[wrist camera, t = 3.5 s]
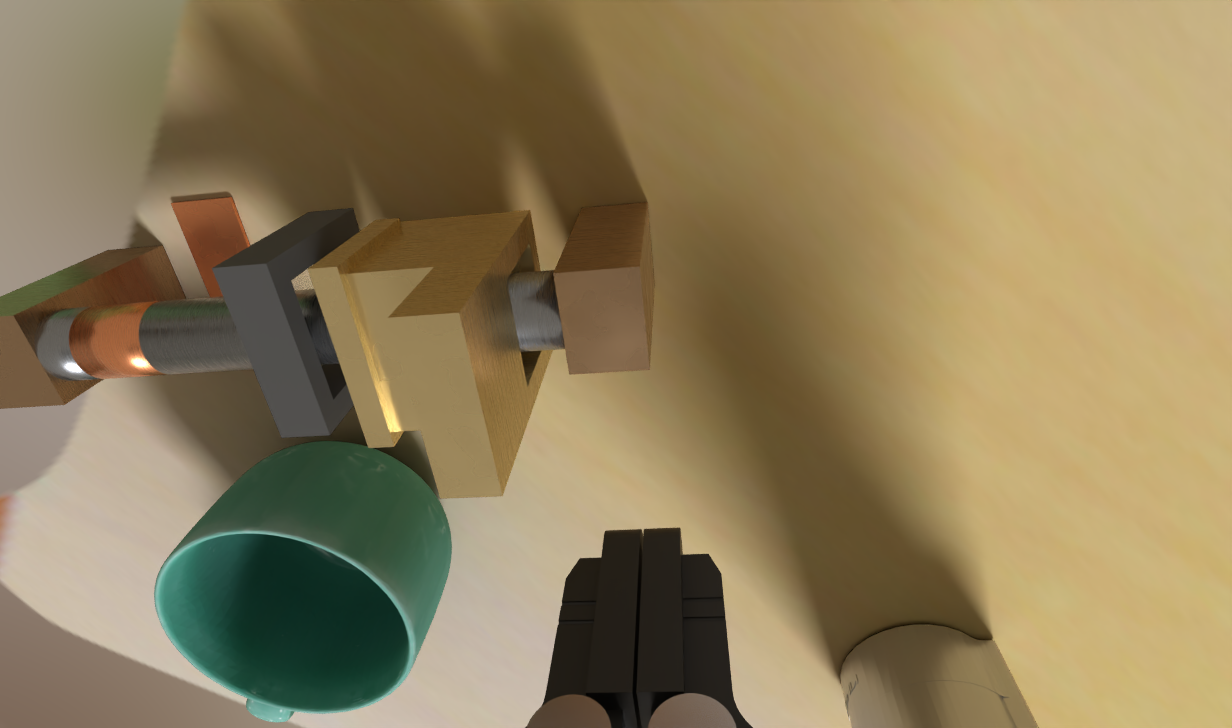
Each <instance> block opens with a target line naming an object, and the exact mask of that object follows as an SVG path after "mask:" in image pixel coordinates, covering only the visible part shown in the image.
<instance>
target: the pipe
mask: <svg viewBox="0 0 1232 728" xmlns="http://www.w3.org/2000/svg"><path fill="white" fill-rule="evenodd" d="M171 205H172V207H173V210H174V212H175V215H176V217H177V219H178V222H179V224H180V226H181V229H182V231H183V234H184V236H185V238H186V241H187V243H188V245H189V248H190V250H191V253H192V255H193V257H194V260H195V262H196V264H197V267H198V269H199V272H200V274H201V276H202V279H203V281H204V284H205V286H206V288H207V291H208V293H209V295H210V297H206V298H193V299H186V297H185V295H184V293H183V291H182V288H181V286H180V284H179V282H178V279H177V277H176V275H175V272H174V270H173V268H172V266H171V263H170V261H169V259H168V256H167V254H166V252H165V250H164V247H163V245H161V246H149V247H138V248H127V249H116V250H107V251H105V252H103V253H100V254H98V255H96V256H93V257H91V258H89V259H86V260H84V261H82V262H79V263H77V264H75V265H72V266H70V267H68V268H65V269H63V270H61V271H58V272H56V273H54V274H52V275H49V276H47V277H45V278H42V279H40V280H38V281H35V282H33V283H31V284H28V285H26V286H24V287H22V288H20V289H17V290H15V291H12V292H10V293H8V294H5V295H3V296H1V297H0V409H1V408H2V409H3V408H20V407H35V406H53V405H65V404H67V403H68V402H70V401H71V400H73V399H74V398H76V397H77V396H79V395H80V394H82V393H83V392H85V391H86V390H88V389H89V388H91V387H93V386H94V385H96V384H97V383H99V382H100V381H102V380H103V379H108V378H123V377H139V376H154V375H170V374H185V373H201V372H216V371H231V370H247V369H253V367H252V365H251V362H250V360H249V358H248V355H247V353H246V350H245V348H244V345H243V343H242V341H241V338H240V336H239V333H238V331H237V328H236V326H235V324H234V321H233V319H232V316H231V314H230V312H229V309H228V307H227V304H226V302H225V299H224V297H223V295H222V292H221V290H220V287H219V285H218V282H217V280H216V278H215V275H214V273H213V270H212V268H213V267H215V266H216V265H218V264H220V263H221V262H223V261H225V260H227V259H228V258H230V257H232V256H234V255H235V254H237V253H239V252H241V251H242V250H244V249H246V248H248V247H249V246H250V244H249V241H248V238H247V236H246V233H245V230H244V228H243V225H242V222H241V220H240V217H239V214H238V212H237V209H236V207H235V204H234V201H233V199H232V197H224V198H214V199H204V200H193V201H183V202H173V203H171ZM507 285H508V290H509V295H510V300H511V305H512V310H513V315H514V320H515V326H516V331H517V336H518V341H519V346H520V351H521V352H525V351H541V350H556V349H565V350H566V356H567V363H568V369H569V374H585V373H602V372H618V371H635V370H650V355H651V338H652V321H653V304H654V288H655V283H654V271H653V260H652V248H651V237H650V225H649V213H648V202H643V203H632V204H621V205H610V206H598V207H587V208H582V209H581V212H580V214H579V216H578V218H577V221H576V223H575V225H574V227H573V230H572V232H571V234H570V236H569V239H568V241H567V243H566V246H565V248H564V250H563V252H562V255H561V257H560V259H559V261H558V264H557V266H556V268H555V270H550V271H537V272H524V273H511V274H510V275H509V277H508V279H507ZM295 293H296V296H297V299H298V302H299V305H300V307H301V310H302V313H303V316H304V319H305V321H306V324H307V327H308V330H309V333H310V335H311V338H312V341H313V344H314V347H315V349H316V352H317V355H318V358H319V361H320V363H321V365H324V364H340V363H339V360H338V357H337V354H336V351H335V348H334V345H333V342H332V339H331V336H330V333H329V331H328V328H327V325H326V322H325V319H324V316H323V313H322V310H321V307H320V304H319V301H318V298H317V295H316V292H315V289H308V290H295Z"/></svg>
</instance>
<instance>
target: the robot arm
mask: <svg viewBox="0 0 1232 728" xmlns="http://www.w3.org/2000/svg"><path fill="white" fill-rule="evenodd" d="M840 678H841V686H842V690H843V694H844V698H845V704H846V709H847V713H848V716H849V719H850V722H851V726H852V728H1039V727H1038V725H1037V723H1036V721H1035V719H1034V717H1033V715H1032V713H1031V711H1030V709H1029V707H1028V705H1027V703H1026V701H1025V700H1024V698H1023V696H1022V694H1021V692H1020V690H1019V688H1018V686H1017V684H1016V682H1015V680H1014V678H1013V676H1012V674H1011V672H1010V670H1009V668H1008V666H1007V664H1006V662H1005V660H1004V658H1003V656H1002V654H1001V652H1000V650H999V649H998V647H997V645H996V643H995V641H993V640H976V639H974V638H972V637H970V636H968V635H966V634H964V633H962V632H961V631H958V630H955V629H951V628H948V627H944V626H937V625H908V626H901V627H896V628H892V629H889V630H886V631H882V632H880V633H878V634H876V635H874V636H871V637H869V638H867V639H866V640H865V641H863V642H862V643H860V644H859V645H857V646H856V647H855V648H854V649H853V650H852V651H851V652H850V654H849V655H848V656H847V658H846V659H845V661H844V663H843V665H842V669H841V673H840ZM526 728H753V727H752V726H751V725H750V724H749V723H748V722H747V721H746V720H745V719H744V718H743V716H742V715H741V714H740V712H739V710H738V708H737V706H736V704H735V701H734V697H733V692H732V682H731V671H730V661H729V650H728V640H727V629H726V620H725V608H724V598H723V587H722V577H721V573H720V571H719V570H718V568H717V566H716V565H715V563H714V562H713V560H712V559H711V557H710V556H709V554H690V555H683V552H682V540H681V530H680V528H657V529H644V534H643V533H642V529H636V530H610V531H605V534H604V541H603V549H602V558H580V559H579V560H578V562H577V563H576V565H575V566H574V568H573V569H572V571H571V572H570V574H569V575H568V576H567V578H566V581H565V587H564V593H563V599H562V606H561V610H560V616H559V625H558V627H557V633H556V638H555V644H554V650H553V656H552V661H551V667H550V673H549V678H548V684H547V690H546V695H545V699H544V702H543V704H542V706H541V707H540V708H539V709H538V710H537V711H536V712H535V714H534V715H533V716H532V718H531V719H530V721H529V723H528V725H527V727H526Z"/></svg>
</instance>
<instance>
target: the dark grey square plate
mask: <svg viewBox="0 0 1232 728" xmlns="http://www.w3.org/2000/svg"><path fill="white" fill-rule="evenodd" d="M358 232H360V231H359V227H358V224H357V221H356V217H355V214H354V210H353V208H348V209H337V210H326V211H315V212H308V213H307V214H305V215H303V216H301V217H300V218H298V219H296V220H294V221H293V222H291V223H289V224H288V225H286V226H284V227H282V228H281V229H279V230H277V231H275V232H274V233H272V234H270V235H268V236H267V237H265V238H263V239H261V240H260V241H258V242H256V243H255V244H253V245H251V246H249V247H248V248H246V249H244V250H242V251H241V252H239V253H237V254H235V255H234V256H232V257H230V258H228V259H227V260H225V261H223V262H221V263H220V264H218V265H216V266H215V267H213V268H212V270H213V273H214V275H215V278H216V280H217V282H218V285H219V287H220V290H221V292H222V295H223V297H224V299H225V302H226V304H227V307H228V309H229V312H230V314H231V316H232V319H233V321H234V324H235V326H236V328H237V331H238V333H239V336H240V338H241V341H242V343H243V345H244V348H245V350H246V353H247V355H248V358H249V360H250V362H251V365H252V367H253V370H254V372H255V375H256V377H257V379H258V382H259V384H260V387H261V389H262V392H263V394H264V396H265V399H266V401H267V404H268V406H269V409H270V411H271V413H272V416H273V418H274V421H275V423H276V426H277V428H278V430H279V433H280V435H281V438H287V437H306V436H325V435H330V434H331V433H332V432H333V431H334V429H335V428H336V427H337V426H338V424H339V423H340V422H341V421H342V419H343V418H344V417H345V415H346V414H347V413H348V412H349V410H350V409H351V408H352V407H353V405H354V404H353V401H352V398H351V395H350V392H349V389H348V386H347V383H346V381H345V378H344V375H343V372H342V369H341V366H340V364H324V365H322V366H321V363H320V361H319V358H318V355H317V352H316V349H315V347H314V344H313V341H312V338H311V335H310V333H309V330H308V327H307V324H306V321H305V319H304V316H303V313H302V310H301V307H300V305H299V302H298V299H297V296H296V293H295V291H294V288H293V285H292V282H291V280H292V279H294V278H295V277H296V276H298V275H299V274H301V273H302V272H303V271H305V270H306V269H307V268H309V267H310V266H312V265H314V264H315V263H317V262H318V261H320V260H321V259H322V258H324V257H325V256H326V255H328V254H329V253H331V252H332V251H333V250H335V249H336V248H338V247H339V246H340V245H342V244H343V243H344V242H346V241H347V240H349V239H350V238H351V237H353V236H354V235H356V234H357V233H358Z"/></svg>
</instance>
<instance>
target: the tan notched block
mask: <svg viewBox="0 0 1232 728" xmlns="http://www.w3.org/2000/svg"><path fill="white" fill-rule="evenodd" d="M537 271H540V265H539V259H538V253H537V247H536V241H535V235H534V229H533V224H532V218H531V212H530V210H524V211H513V212H502V213H491V214H480V215H468V216H457V217H446V218H435V219H424V220H413V221H400V218H393V219H382V220H375V221H373V222H372V223H371V224H369V225H368V226H367V227H365V228H364V229H362V230H361V231H360V232H358V233H357V234H356V235H354V236H353V237H351V238H350V239H349V240H347V241H346V242H344V243H343V244H342V245H340V246H339V247H338V248H336V249H335V250H333V251H332V252H331V253H329V254H328V255H326V256H325V257H324V258H322V259H321V260H320V261H318V262H317V263H315V264H314V265H313V266H311V267H310V268H308V272H309V275H310V278H311V281H312V284H313V286H314V289H315V292H316V295H317V298H318V301H319V304H320V307H321V310H322V313H323V316H324V319H325V322H326V325H327V328H328V331H329V333H330V336H331V339H332V342H333V345H334V348H335V351H336V354H337V357H338V360H339V363H340V366H341V369H342V372H343V375H344V378H345V381H346V383H347V386H348V389H349V392H350V395H351V398H352V401H353V404H354V407H355V410H356V413H357V416H358V419H359V422H360V425H361V428H362V430H363V433H364V436H365V439H366V442H367V445H368V448H379V447H394V446H395V445H396V443H397V442H398V440H399V438H400V437H401V435H402V434H403V432H404V431H417V430H420V431H421V434H422V438H423V441H424V444H425V448H426V451H427V455H428V458H429V462H430V465H431V468H432V472H433V475H434V479H435V482H436V486H437V489H438V492H439V496H440V499H442V498H467V497H493V496H503V493H504V490H505V487H506V484H507V481H508V478H509V476H510V473H511V470H512V467H513V464H514V461H515V458H516V455H517V452H518V449H519V447H520V444H521V441H522V438H523V435H524V432H525V429H526V426H527V423H528V420H529V418H530V415H531V412H532V409H533V406H534V403H535V400H536V397H537V394H538V391H539V389H540V386H541V383H542V380H543V377H544V374H545V371H546V368H547V365H548V362H549V360H550V357H551V354H552V351H553V350H541V351H525V352H521V351H520V346H519V341H518V336H517V331H516V326H515V320H514V315H513V310H512V305H511V300H510V295H509V290H508V285H507V279H508V277H509V275H510V274H511V273H524V272H537Z"/></svg>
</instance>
